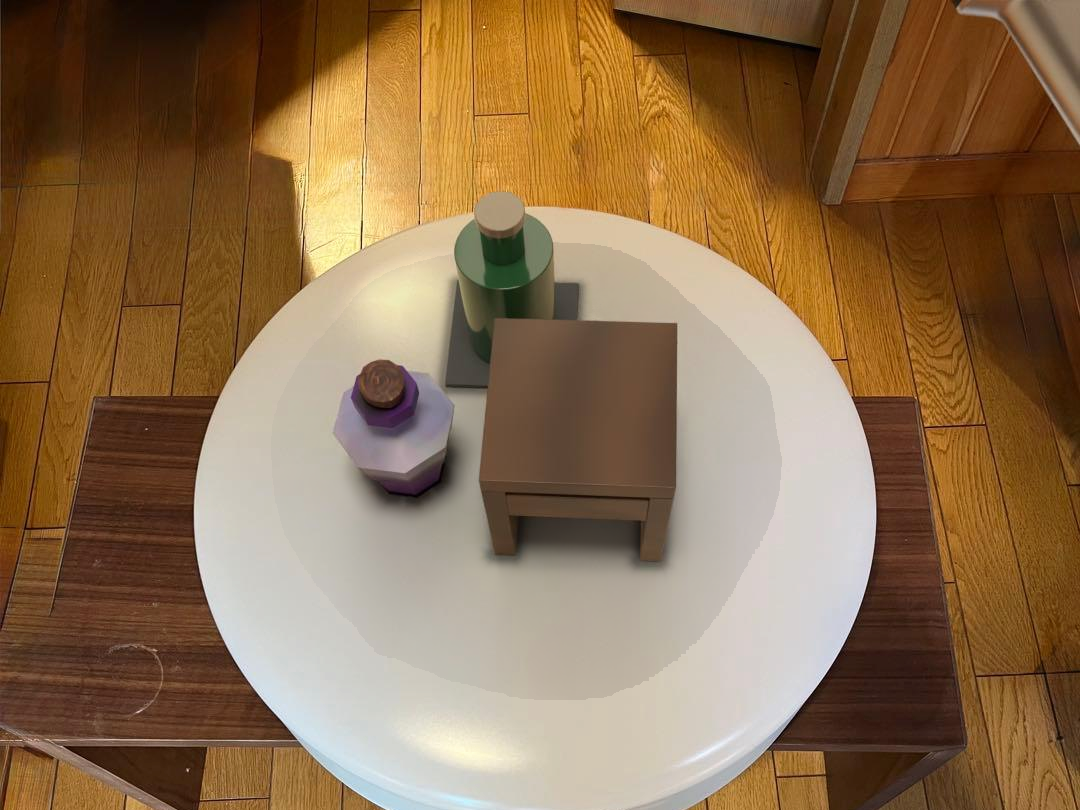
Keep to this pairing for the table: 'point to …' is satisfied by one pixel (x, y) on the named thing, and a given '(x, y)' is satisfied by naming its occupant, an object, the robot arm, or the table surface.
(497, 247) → the green bottle
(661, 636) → the table surface
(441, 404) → the potion bottle
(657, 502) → the walnut table
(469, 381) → the felt mat
